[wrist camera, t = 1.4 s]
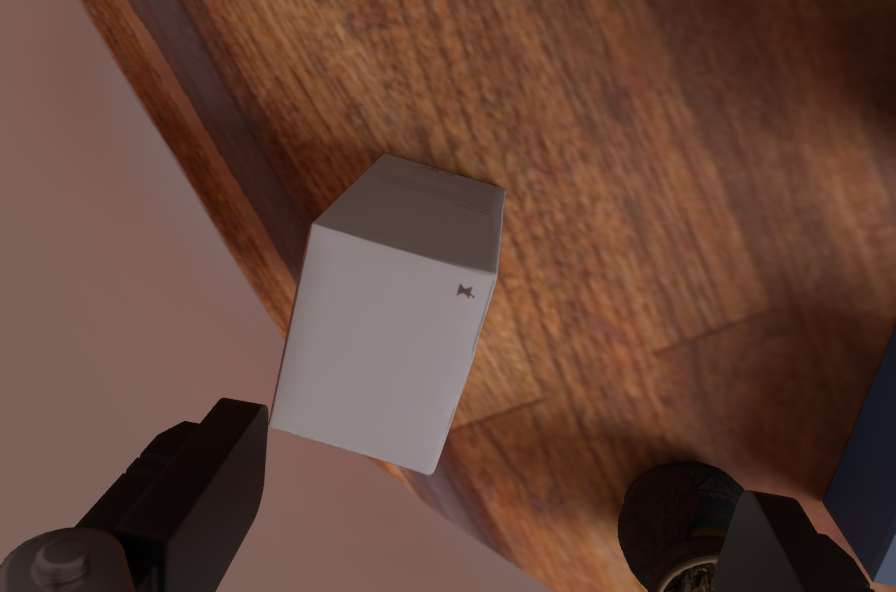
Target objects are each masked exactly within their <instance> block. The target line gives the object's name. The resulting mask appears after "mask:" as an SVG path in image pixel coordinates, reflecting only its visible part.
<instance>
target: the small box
mask: <svg viewBox="0 0 896 592" xmlns="http://www.w3.org/2000/svg"><path fill="white" fill-rule="evenodd" d="M505 197H506V189H504V188H501V187H497V186H494V185H491V184H487V183H483V182H480V181H477V180H474V179H470V178H467V177H463V176H460V175H456V174H453V173H449V172H446V171H443V170H439V169H436V168H433V167H429V166H426V165H423V164H420V163H416V162H413V161H410V160H407V159H403V158H400V157H396V156H393V155H390V154H386V153H384V154H383V155H382V156H381V157H380V158H378V159H377V160H376V161H375V162H374V163H373V164H372V165H371V166H370V167H369V168H368V169H367V170H366V171H365V172H364V173H363V174H362V175H361V176H360V177H359V178H358V179H357V180H356V181H355V182H354V183H353V184H352V185H351V186H350V187H349V188H348V189H347V190H346V191H345V192H343V193H342V194H341V195H340V196H339V197H338V198H337V199H336V200H335V201H334V202H333V203H332V204H331V205H330V206H329V207H328V208H327V209H326V210H325V211H324V212H323V213H322V214H321V215H320V216H319V217H318V218H316V219H315V220H314V221H313V222H312V223H311V224H310V227H309V232H308V236H307V241H306V246H305V250H304V255H303V260H302V264H301V269H300V274H299V278H298V283H297V288H296V293H295V297H294V302H293V307H292V312H291V317H290V322H289V327H288V331H287V336H286V340H285V345H284V350H283V355H282V360H281V366H280V370H279V375H278V380H277V384H276V389H275V394H274V399H273V404H272V408H271V414H270V418H269V423H268V425H269V426H270V427H272V428H275V429H278V430H282V431H285V432H288V433H292V434H295V435H298V436H302V437H305V438H309V439H312V440H316V441H319V442H322V443H326V444H329V445H332V446H336V447H339V448H342V449H346V450H349V451H353V452H356V453H359V454H362V455H366V456H369V457H372V458H375V459H378V460H382V461H385V462H388V463H391V464H394V465H398V466H401V467H404V468H407V469H410V470H414V471H417V472H420V473H423V474H426V475H431V474H432V473H433V472H434V470H435V468H436V466H437V463H438V460H439V457H440V455H441V452H442V449H443V446H444V443H445V440H446V437H447V434H448V431H449V428H450V425H451V423H452V420H453V417H454V414H455V411H456V408H457V405H458V402H459V399H460V397H461V394H462V391H463V388H464V386H465V383H466V380H467V377H468V374H469V370H470V367H471V365H472V362H473V358H474V354H475V349H476V346H477V342H478V338H479V335H480V332H481V329H482V325H483V322H484V319H485V316H486V313H487V309H488V306H489V303H490V300H491V296H492V293H493V289H494V286H495V283H496V279H497V274H498V265H499V255H500V246H501V235H502V220H503V210H504V204H505Z"/></svg>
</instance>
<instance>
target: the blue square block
mask: <svg viewBox="0 0 896 592" xmlns="http://www.w3.org/2000/svg"><path fill="white" fill-rule="evenodd" d="M823 504H824V506H825V507H826V509H827V511H828V512H829V514H830V515H831V517H832V518H833V520H834V521H835V523H836V525H837V526H838V528H839V529H840V531H841V532H842V534H843V536H844V537H845V539H846V540H847V542H848V543H849V545H850V547H851V548H852V550H853V551H854V553H855V554H856V556H857V558H858V559H859V561H860V562H861V564H862V565H863V567H864V568H865V570H866V572H867V573H868V575H869V577H870V578H871V580H872V581H873V582H876V583H881V584H887V585H892V586H896V328H895V330H894V332H893V335H892V337H891V340H890V342H889V345H888V347H887V349H886V352H885V354H884V357H883V359H882V361H881V364H880V366H879V369H878V371H877V373H876V376H875V378H874V381H873V383H872V385H871V388H870V390H869V393H868V395H867V397H866V400H865V402H864V405H863V407H862V410H861V412H860V414H859V417H858V419H857V422H856V424H855V426H854V429H853V431H852V434H851V436H850V438H849V441H848V443H847V446H846V448H845V450H844V453H843V455H842V458H841V460H840V462H839V465H838V467H837V470H836V472H835V474H834V477H833V479H832V482H831V484H830V487H829V489H828V491H827V494H826V496H825V499H824V501H823Z"/></svg>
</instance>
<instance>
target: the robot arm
mask: <svg viewBox="0 0 896 592" xmlns="http://www.w3.org/2000/svg"><path fill="white" fill-rule="evenodd" d="M267 432H268V408H267V406H266V405H263V404H257V403H252V402H246V401H240V400H234V399H229V398H221V399H220V400H219V401H218V402H217V403H216V405H215V406H214V407H213V408H212V409H211V411H210V412H209V413H208V414H207V416H206V417H205V418H204V419H203V420H202V422H201V423H200V424H199V423H192V422H188V421H184V422H182V423H179V424H178V425H176V426H174V427H172V428H170V429H168V430H166V431H164V432H162V433H160V434H159V435H157V436H156V437H155V438H154V440H153V441H152V442H151V443H150V444H149V445H148V446H147V447H146V449H144V451H143V452H142V453H141V455H140V458H136V459H135V461H134V462H133V463H132V464H131V465H130V466H129V467H128V468H127V471H126V473H125V474H124V473H123V474H122V475H121V476H120V477H119V478H118V479H117V481H116V482H115V483H114V484H113V485H112V486H111V487H110V488H109V489H108V490H107V492H106V493H105V494H104V495H103V496H102V497H101V498H100V499H99V500H98V502H97V503H96V504H95V505H94V506H93V507H92V508H91V509H90V510H89V512H88V513H87V514H86V515H85V516H84V517H83V518H82V519H81V520H80V522H79V523H78V524H77V525H76V526H75V527H74V528H64V529H58V530H54V531H50V532H46V533H44V534H41V535H39V536H36V537H34V538H32V539H30V540H28V541H26V542H24V543H23V544H21V545H20V546H18V547H17V548H16V549H15V550H13V551H12V552H11V553H10V554H9V555H8V556H7V557H6V558H5V559H4V561H3V563H2V564H1V565H0V592H215V591H216V590H217V588H218V586H219V584H220V582H221V580H222V578H223V577H224V575H225V573H226V571H227V569H228V567H229V565H230V564H231V562H232V560H233V558H234V556H235V555H236V552H237V551H238V549H239V547H240V545H241V543H242V542H243V539H244V538H245V536H246V534H247V532H248V530H249V529H250V526H251V525H252V523H253V521H254V519H255V517H256V514H257V512H258V509H259V505H260V502H261V498H262V493H263V487H264V476H265V461H266V447H267ZM714 592H875V591H874V590H873V589H870V583H869V582H868V580H867V579H866V577H865V576H864V574H863V573H862V571H861V570H860V568H859V567H858V565H857V564H856V562H855V560H854V559H853V558H852V557H851V556H850V555H848V554H847V553H846V552H845V551H844V550H843V549H842V548H841V547H839V546H838V545H837V544H836V543H835V542H834V541H833V540H832V539H830V538H829V537H828V536H827V535H825V534H819V533H817V531H816V530H815V528H814V527H813V525H812V523H811V522H810V520H809V518H808V517H807V515H806V513H805V512H804V510H803V509H802V507H801V505H800V504H799V502H798V501H797V500H796V499H794V498H791V497H785V496H779V495H774V494H768V493H762V492H756V491H751V490H746V491H744V492H743V493H742V495H741V496H740V498H739V500H738V502H737V505H736V508H735V511H734V514H733V517H732V520H731V523H730V525H729V528H728V531H727V534H726V537H725V540H724V543H723V546H722V549H721V552H720V555H719V558H718V561H717V564H716V568H715V573H714Z"/></svg>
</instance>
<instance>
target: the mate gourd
mask: <svg viewBox="0 0 896 592" xmlns="http://www.w3.org/2000/svg"><path fill="white" fill-rule="evenodd" d="M744 491H745V490H744V489H743V488H742V486H740V485H739V484H738V483H737V482H736V481H735V480H733V478H732V477H731V476H729V475H728V474H727V473H725V472H724V471H722V470H721V469H720V468H717V467H714V466H711V465H708V464H705V463H700V462H695V461H694V462H693V461H677V462H672V463H666V464H661V465H657V466H654V467H652V468H650V469H649V470H647V471H645V472H643V473H642V474H641V475H640V476H639V477H638V478H636V479H635V480H634V481H633V482H632V484H631V485H630V487H629V488H628V490H627V492H626V493H625V496H624V502H623V504H622V507H621V511H620V512H619V516H618V517H619V519H618V538H619V542H620V546H621V549H622V551H623V554H624V556H625V558H626V561H627V563H628V566H629V568H630V570H631V571H632V573H633V574H634V575H635V576H636V578H637V579H638V581H639V582H640V583H641V584H642V585H643V586H644V587H645V588H646V589H647V590H648V592H714V573H715V568H716V564H717V561H718V558H719V555H720V552H721V549H722V546H723V543H724V540H725V537H726V534H727V531H728V528H729V525H730V523H731V520H732V517H733V514H734V511H735V508H736V505H737V502H738V500H739V498H740V496H741V495H742V493H743V492H744Z"/></svg>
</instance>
